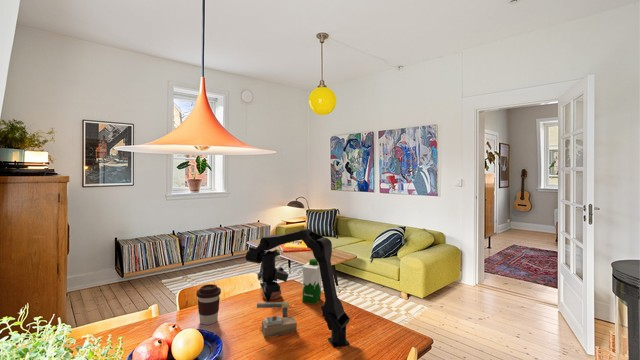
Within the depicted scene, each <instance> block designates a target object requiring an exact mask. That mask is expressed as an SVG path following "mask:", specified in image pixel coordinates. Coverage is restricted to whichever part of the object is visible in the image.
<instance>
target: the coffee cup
mask: <svg viewBox="0 0 640 360" xmlns="http://www.w3.org/2000/svg"><path fill="white" fill-rule="evenodd" d="M221 292H222V289H221V287H219V286H217V285H216V284H211V283H209V284H204V285H201V287H200V288H199V289H197V290H196V297H197V309H198V314H199V316H198V318H199V323H200V324H201V325H205V326H207V325H212V324H215V323H216V322H217V321H218V320H219V319H218V317H219V309H220V295H221Z"/></svg>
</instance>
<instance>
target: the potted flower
mask: <svg viewBox="0 0 640 360" xmlns="http://www.w3.org/2000/svg"><path fill="white" fill-rule="evenodd" d="M274 250H277V252H279V253H280V255H284V251H283V250H279V249H277V248H274ZM280 255H279V256H276V257H275V261H277V260H279V261H280V260H281V256H280ZM261 296H262V298H263V299H265V300H266V298H265V295H264V293H263V290H262V292H261ZM281 296H282V290H281V289H280V292H272V295H271V298H270V301H273V300H277V299H279V298H280V297H281Z"/></svg>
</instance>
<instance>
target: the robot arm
mask: <svg viewBox="0 0 640 360" xmlns="http://www.w3.org/2000/svg"><path fill="white" fill-rule="evenodd" d="M300 241H302V242H303V243H304V244H305V245H306V247H307V248H309V249H310V250H311V252H312V254H313V258H314V259H316V260H317V262H318V263H317V264H319V268H320V274H321V285H322V289H323V295H324V300H325V301H324V303H323V304H322V305H320V309H321V311H322V318H323V319H324V321H325V322H326V326H327V328H328V330H329V331H330V333H331V334H330V337H327V341H328V342H329V344H331V346H332V347H333V348H334V349H335V348H336V349H337V348H341V347H345V346H349V345H350V342H349V341H348V340H347V325H348V324H349V323H350V320H351V319H350V316H349V315H348V314H347V313H346V312H345V309H344V305H343V303H342V301H341V299H339V297H338V294H337V293H338V292H337V288H336V282H335V278H334V271H333V266H332V262H331V261H332V259H331V258H332V255H333V244H332V241H331V240H330V239H329V238H328V237H325V236H323V235H322V234H319V233H317V232H315V231H313V230H311V229H310V228H304V229H300V230H297V231H293V232H290V233H285V234H270V235H267V236H264V237H261V238H260V240H259V243H258V245H257V246H253V245H252V246H249V247H248V250H247V252H246V253H245V254H246V255H245V260H246V262H248V263H254V264H258V265H259V264H261V266H260V270H261V271H259V272H258V273H257V280H258V281H260V280H261V282H260V283H259V285H260V288H261V290H262V291H263V293H264V295H265V298H266V299H265V298H264V299H265V300H266V303H270V301H271V300H270V298H271V295H272V292H280V290H281V285H280V284H279V283H278V282H277V281H281V282H284V283H286V282H287V281H288V278H289V276H290V275H289V273H288V272H287V271H285V270H284V268H283V267H281V266H279V267H278V268H276V260H275V257H276V256H279V255H281V252H280V251H279V252H280V253H279V252H278V251H277V250H278V249H277V248H278V247H280V246H282V245H287V244H289V243H293V242H300ZM272 249H274V250H272ZM275 249H277V250H275Z"/></svg>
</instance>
